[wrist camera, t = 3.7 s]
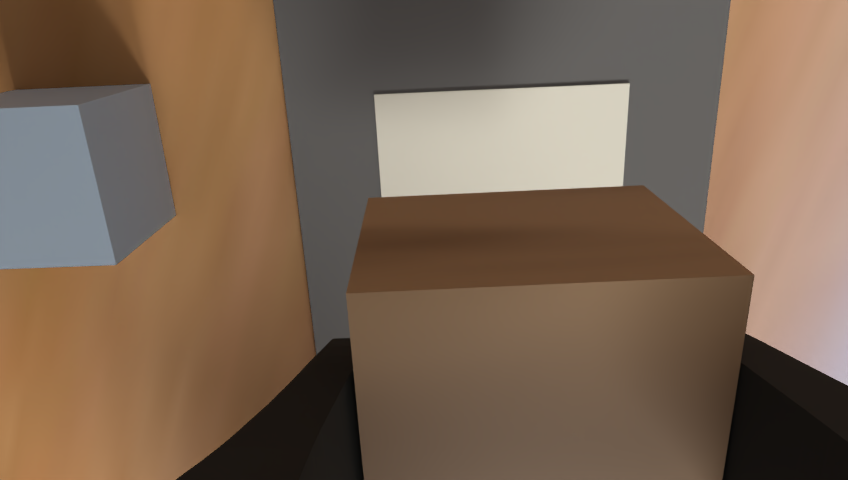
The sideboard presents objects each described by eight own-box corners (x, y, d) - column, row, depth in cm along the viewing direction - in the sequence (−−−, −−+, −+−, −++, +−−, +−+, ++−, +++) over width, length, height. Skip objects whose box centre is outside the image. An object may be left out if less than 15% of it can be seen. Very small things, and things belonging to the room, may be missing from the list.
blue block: (176, 214, 20) (116, 264, 16) (51, 219, 20) (-39, 270, 16) (151, 83, 18) (78, 105, 14) (16, 89, 18) (-92, 112, 15)
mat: (676, 392, 21) (684, 405, 21) (326, 402, 22) (323, 415, 21) (727, -61, 17) (739, -64, 16) (273, -38, 17) (267, -39, 16)
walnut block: (624, 414, 13) (706, 578, 9) (385, 425, 13) (374, 593, 10) (643, 185, 11) (754, 275, 8) (368, 197, 11) (345, 293, 8)
